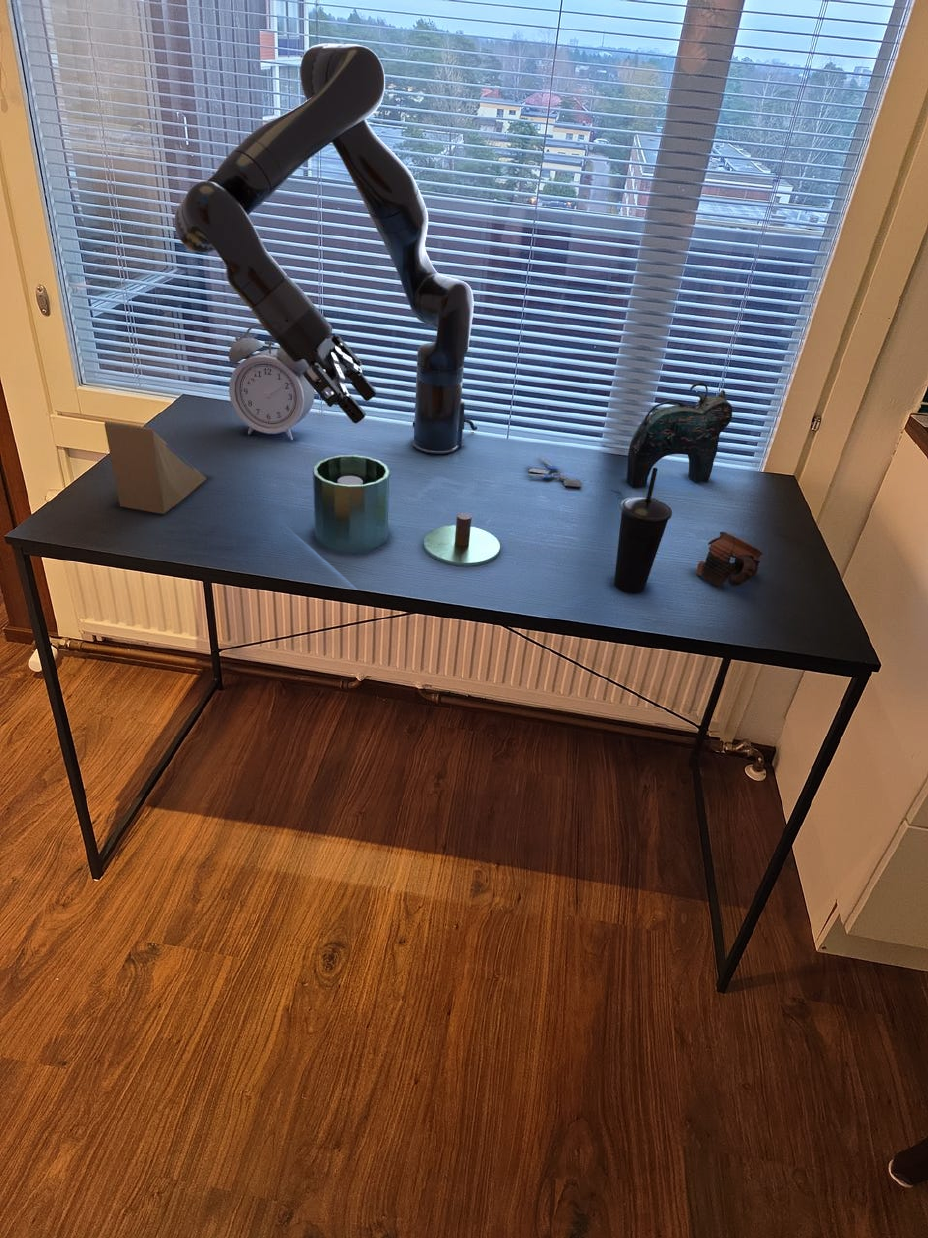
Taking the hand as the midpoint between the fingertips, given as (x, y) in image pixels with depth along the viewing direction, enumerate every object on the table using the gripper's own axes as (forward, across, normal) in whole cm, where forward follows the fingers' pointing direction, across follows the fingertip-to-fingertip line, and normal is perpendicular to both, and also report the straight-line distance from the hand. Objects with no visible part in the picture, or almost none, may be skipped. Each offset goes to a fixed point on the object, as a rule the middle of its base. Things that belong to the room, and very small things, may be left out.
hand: (366, 408), depth 124 cm
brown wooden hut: (+57, -1, -30) cm, 64 cm away
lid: (+27, -2, +2) cm, 27 cm away
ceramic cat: (+55, +36, -25) cm, 70 cm away
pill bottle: (+15, -2, +16) cm, 22 cm away
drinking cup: (+45, -7, -18) cm, 49 cm away
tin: (+15, -2, +16) cm, 22 cm away
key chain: (+38, +31, -6) cm, 50 cm away
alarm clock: (+1, +38, +36) cm, 53 cm away
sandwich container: (-8, +7, +43) cm, 44 cm away
